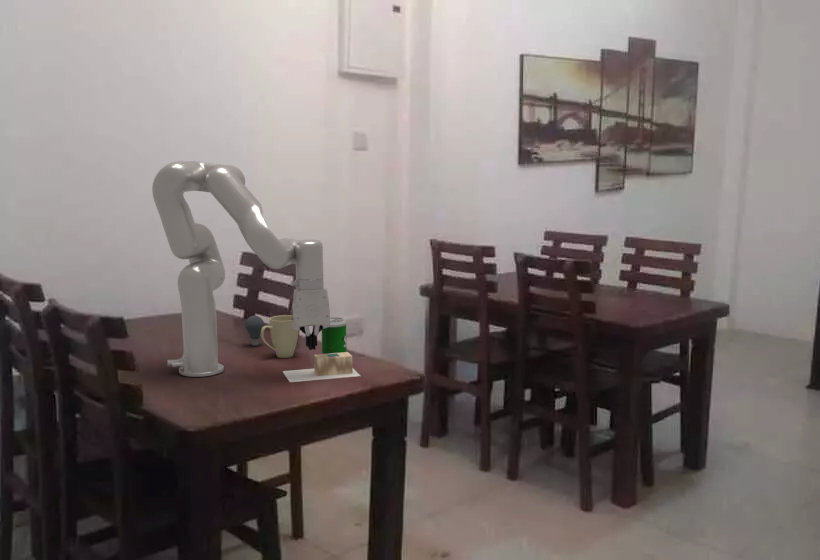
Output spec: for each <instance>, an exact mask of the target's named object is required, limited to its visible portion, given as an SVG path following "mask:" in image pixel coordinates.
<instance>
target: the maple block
mask: <svg viewBox="0 0 820 560" xmlns="http://www.w3.org/2000/svg"><path fill="white" fill-rule="evenodd" d="M352 368H353V355H352V354H351V353H349V352H348V351H347V352H342V353H330V354H322V353H320V354H317V353H316V354H314V355H313V369H314V372H315V373H316V375H317V376H326V375H338V374H350V373H352Z"/></svg>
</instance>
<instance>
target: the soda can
mask: <svg viewBox="0 0 820 560" xmlns="http://www.w3.org/2000/svg"><path fill="white" fill-rule="evenodd" d="M347 343H348V342H347V322H346V320H345V319H344V318H343V317H339V316H335V317H334V316H333V317H331V316H330V327H327V328H324V329H322V330H321V354H330V353H342V352H348V351H347V346H348V345H347Z"/></svg>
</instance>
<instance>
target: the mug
mask: <svg viewBox="0 0 820 560" xmlns="http://www.w3.org/2000/svg"><path fill="white" fill-rule="evenodd" d="M268 323H269V325H264V326H263V327H262V329H261V334H260V339H261V340H262V342H263V343H264V344H265V345H266V346H268V347H269V348H270V349H272V350H274V351H275V354H276V357H277V358H280V359H288V358H292V357H293V356H294V353H295V351H296V347H297V344H298V343H297V342H298V340H299V339H298V337H299V330H294V329H293V328H292V323H293V320H292V314H282V315H280V314H279V315H273V316H270V317H269V322H268ZM267 328H268V329H270V330H269V331H270V332H269V333H270V338H271V342H272V345H271V344H270V343H268V341H266V339H265V330H266V329H267Z"/></svg>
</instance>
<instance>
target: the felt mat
mask: <svg viewBox="0 0 820 560" xmlns="http://www.w3.org/2000/svg"><path fill="white" fill-rule="evenodd" d="M282 373H283V375H284V376H285V377H286V379H287V380H288V382H289V383H299V382H308V381H309V382H310V381H319V380H320V381H321V380H332V379H343V378H354V377H355V378H357V377H361V374H360V373H358V372H357V370H355V368H353V367H352V373H350V374H338V375H326V376H317V375H316V373H315V372H314V368H306V369H304V368H303V369H293V370H283V371H282Z"/></svg>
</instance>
